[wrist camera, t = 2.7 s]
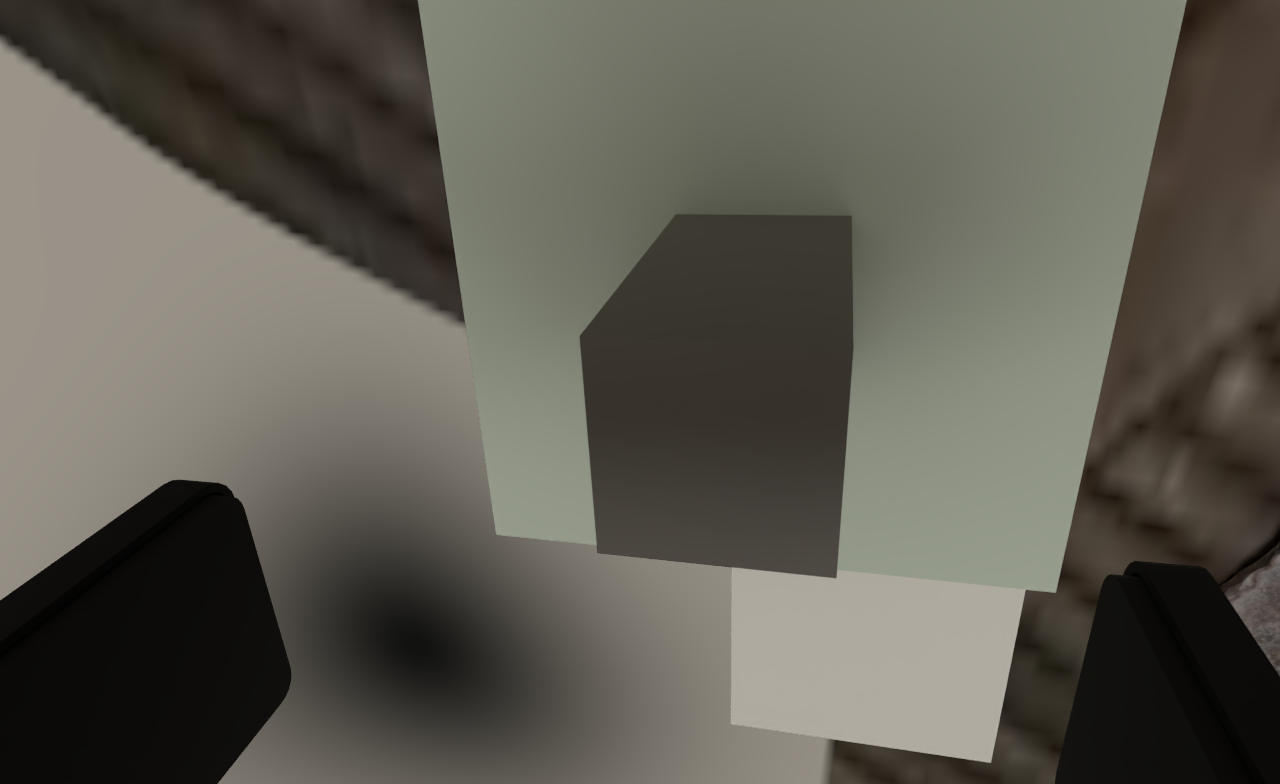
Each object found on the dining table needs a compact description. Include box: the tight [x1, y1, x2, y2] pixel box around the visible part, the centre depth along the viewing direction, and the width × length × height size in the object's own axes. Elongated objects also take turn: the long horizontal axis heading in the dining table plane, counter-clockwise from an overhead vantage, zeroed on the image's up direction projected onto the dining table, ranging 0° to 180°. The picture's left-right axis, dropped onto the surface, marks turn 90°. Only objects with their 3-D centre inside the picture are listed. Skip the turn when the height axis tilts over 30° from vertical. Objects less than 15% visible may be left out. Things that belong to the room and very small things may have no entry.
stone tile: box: [731, 567, 1025, 763], centre depth 30 cm, size 10×10×1 cm
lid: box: [418, 0, 1187, 593], centre depth 15 cm, size 14×14×8 cm
